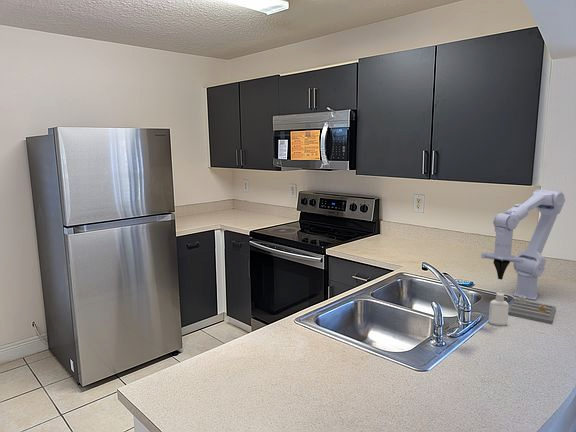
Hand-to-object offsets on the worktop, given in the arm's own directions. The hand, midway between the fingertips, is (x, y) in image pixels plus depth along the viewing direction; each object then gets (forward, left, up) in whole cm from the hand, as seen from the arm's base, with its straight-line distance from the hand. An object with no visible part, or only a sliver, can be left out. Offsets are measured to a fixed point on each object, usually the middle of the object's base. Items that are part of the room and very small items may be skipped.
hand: (500, 278), depth 158 cm
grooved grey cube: (+1, +8, -8) cm, 11 cm away
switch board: (+4, +12, -9) cm, 16 cm away
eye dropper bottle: (+23, +4, -10) cm, 25 cm away
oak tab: (+8, +15, -8) cm, 19 cm away
